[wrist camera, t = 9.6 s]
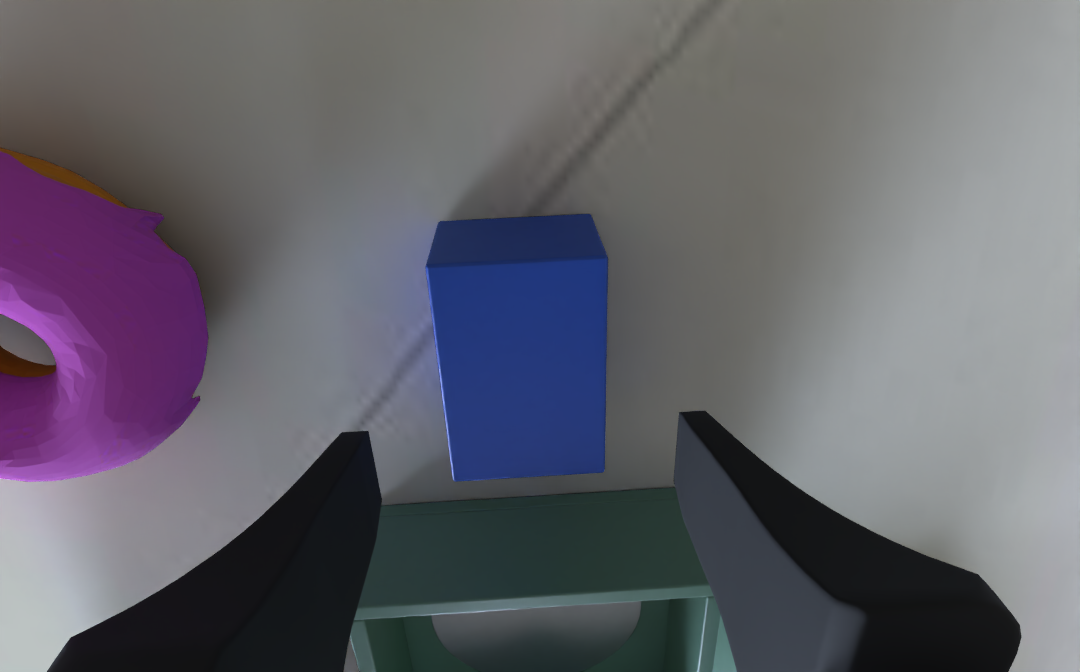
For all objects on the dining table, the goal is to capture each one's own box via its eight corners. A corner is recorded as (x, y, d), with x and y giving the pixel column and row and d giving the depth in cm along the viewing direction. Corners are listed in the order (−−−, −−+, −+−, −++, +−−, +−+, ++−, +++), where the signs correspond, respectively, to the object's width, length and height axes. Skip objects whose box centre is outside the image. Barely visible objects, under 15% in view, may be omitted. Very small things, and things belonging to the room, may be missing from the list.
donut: (-183, 305, 19) (-363, 386, 15) (-64, 23, 16) (-254, 32, 12) (146, 473, 23) (70, 575, 19) (298, 269, 20) (245, 340, 16)
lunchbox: (407, 690, 29) (392, 801, 25) (369, 505, 24) (341, 608, 20) (671, 672, 30) (698, 778, 26) (690, 486, 24) (727, 583, 20)
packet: (459, 413, 22) (452, 482, 19) (437, 220, 19) (424, 265, 16) (590, 406, 23) (605, 473, 19) (591, 212, 19) (608, 255, 16)
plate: (443, 682, 28) (443, 686, 28) (419, 539, 24) (418, 543, 24) (636, 668, 29) (637, 673, 28) (644, 525, 25) (645, 529, 24)
